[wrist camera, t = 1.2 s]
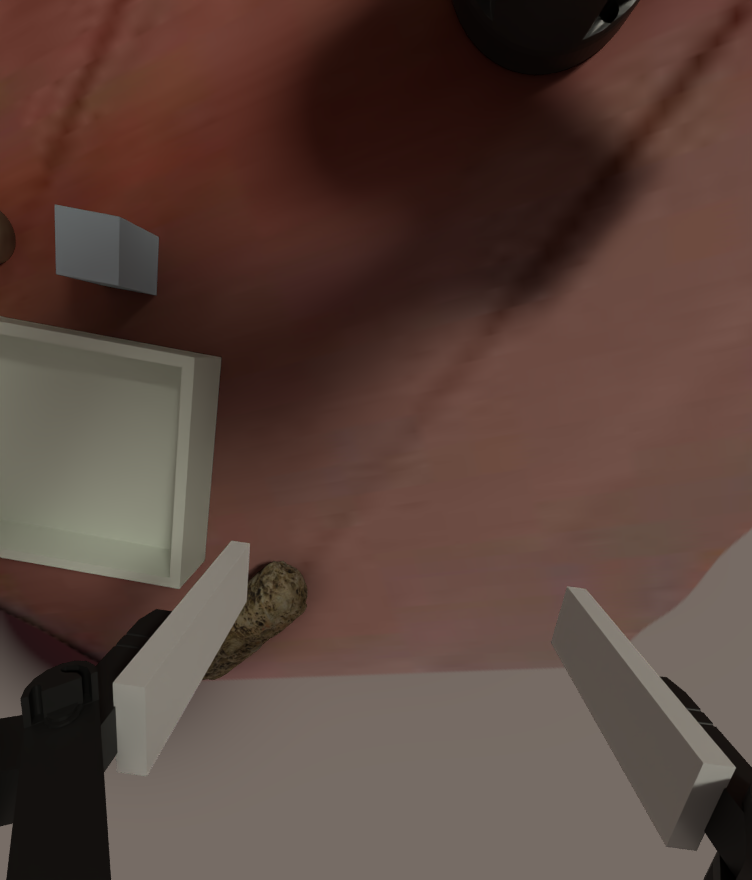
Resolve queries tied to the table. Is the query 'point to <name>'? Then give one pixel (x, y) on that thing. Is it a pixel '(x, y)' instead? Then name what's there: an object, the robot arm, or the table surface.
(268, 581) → the coral
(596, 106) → the table surface
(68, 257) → the slate cube
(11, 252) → the beech cylinder
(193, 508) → the tote
